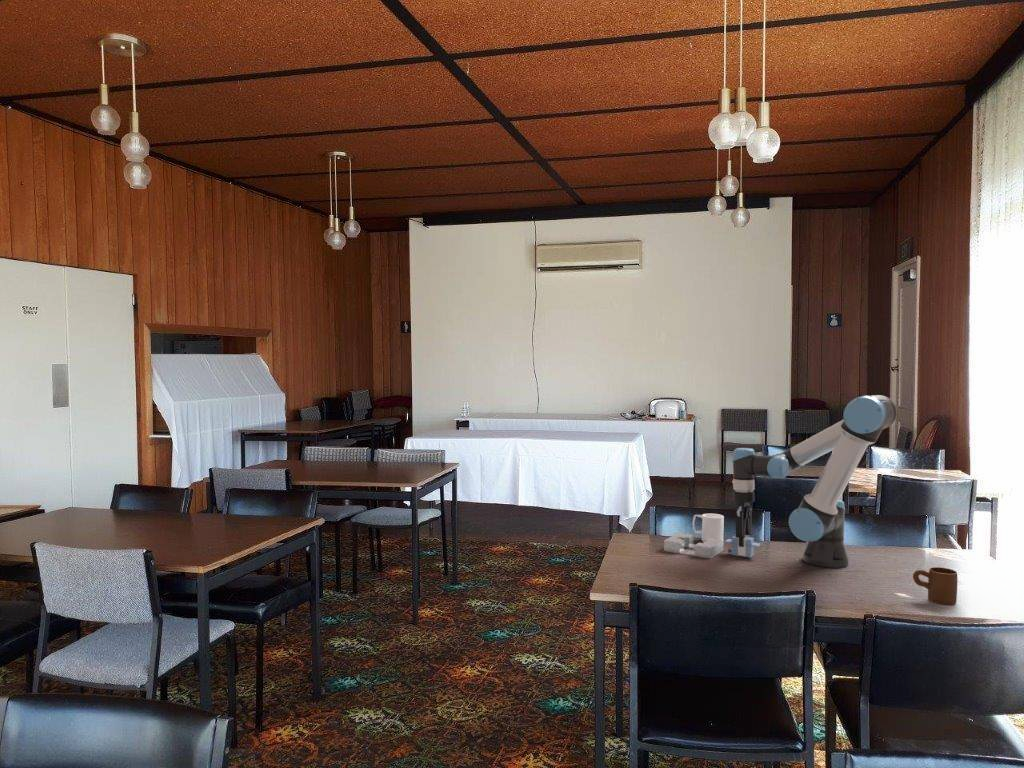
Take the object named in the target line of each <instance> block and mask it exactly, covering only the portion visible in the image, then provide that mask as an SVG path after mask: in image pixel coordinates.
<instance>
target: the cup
mask: <svg viewBox="0 0 1024 768" xmlns="http://www.w3.org/2000/svg"><path fill="white" fill-rule="evenodd" d="M696 517H697V518H701V519H702V520H701V521H702V522H701V530H696V526H695V525H696V524H695V521H696ZM724 520H725V516H724V515H722V514H718V513H703V514H695V515H693V518H692V531H693V532H694V534H696V535H701V541H702V542H703V541H704V539H706V538H707V537H708V538H715V539H721V540H724V529H725V527H724V524H725V523H724V522H725V521H724Z"/></svg>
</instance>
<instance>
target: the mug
mask: <svg viewBox="0 0 1024 768" xmlns="http://www.w3.org/2000/svg"><path fill="white" fill-rule="evenodd" d="M920 575H921V576H923V577H926V578H928V580H927V581H925V580H921V579H920V577H919V576H920ZM912 578H913V582H914V583H915V584H916V585H918V586H920V587H923V588H926V590H927V599H928V600H929V601H930V602H932V603H934V604H939V605H943V606H944V605H945V606H952V605H953V606H954V605H955V604H956V603H957V599H958V581H959V580H958V578H959V577H958V572H957V571H956V570H954V569H951V568H946V567H940V566H939V567H938V566H937V567H935V566H934V567H930V568H929V569H928V571H926V570H924V569H916V570H915V571H914V572H913V574H912Z"/></svg>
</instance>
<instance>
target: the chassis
mask: <svg viewBox="0 0 1024 768" xmlns="http://www.w3.org/2000/svg"><path fill="white" fill-rule="evenodd" d="M724 544H725V539H723V540H721V539H715V538H708V537H707V538H706V539H704V541H702V542H698V543H696V544H695V543H694V534H687V533H680V532H677V533H675V534H673V535H672V536H670V537H668V538H666V539H664V541H663V552H669V553H675V554H680V555H687V556H693V557H698V558H699V557H700V558H703V559H704V558H705V559H710V560H711V559H713V558H715V556H717V555H718V554H720V553H722V552H723V551H724V546H725V545H724ZM685 548H687V549H685ZM689 549H693V550H689Z"/></svg>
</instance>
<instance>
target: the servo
mask: <svg viewBox="0 0 1024 768" xmlns="http://www.w3.org/2000/svg"><path fill="white" fill-rule="evenodd" d="M735 536H736V534H735V535H733V536H731V538H728V539H725V540H724V544H731V548H728V551H727V552H728V553H731V556H737V557H742V558H743V557H744V558H750V559H751V558H752V557H754V555H755V553H754V552H755V551H754V550H755V549H754V548H759V547H761V544H762V543H760V542H755V537H750V536H749V537H745V538H746V556H742V555H738V537H735Z"/></svg>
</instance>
